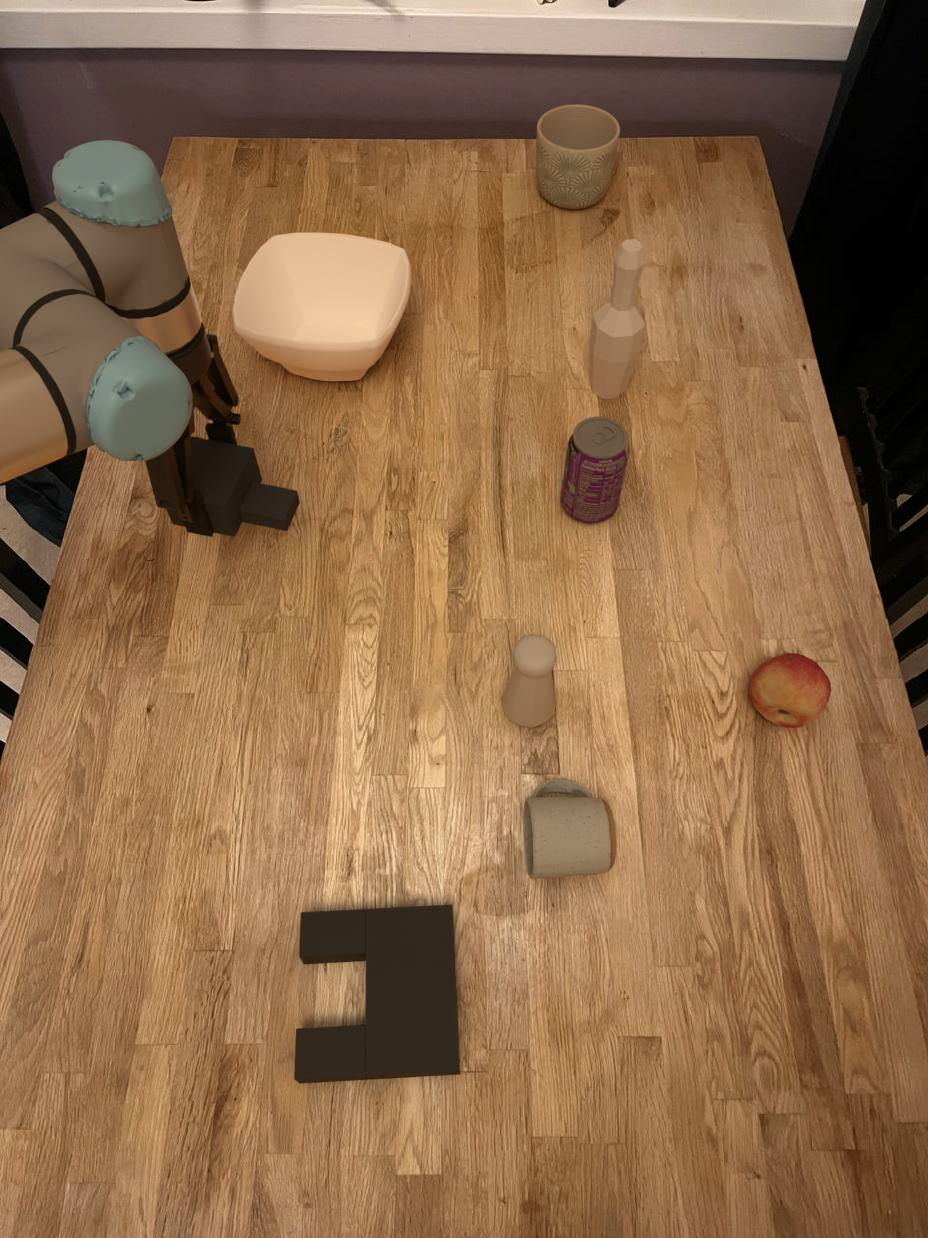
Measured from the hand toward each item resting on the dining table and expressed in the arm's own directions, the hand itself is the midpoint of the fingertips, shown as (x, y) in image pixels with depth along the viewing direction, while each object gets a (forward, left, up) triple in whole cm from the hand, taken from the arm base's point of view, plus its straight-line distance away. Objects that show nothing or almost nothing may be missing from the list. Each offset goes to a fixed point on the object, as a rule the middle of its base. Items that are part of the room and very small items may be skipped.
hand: (216, 499), depth 101 cm
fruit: (+59, -21, -13) cm, 64 cm away
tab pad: (+2, -1, 0) cm, 3 cm away
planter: (+47, +71, -13) cm, 86 cm away
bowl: (+10, +36, -13) cm, 40 cm away
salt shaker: (+32, -20, -13) cm, 40 cm away
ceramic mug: (+34, -34, -13) cm, 50 cm away
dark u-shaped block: (+16, -48, -13) cm, 52 cm away
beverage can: (+42, +8, -13) cm, 45 cm away
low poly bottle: (+47, +28, -13) cm, 56 cm away
